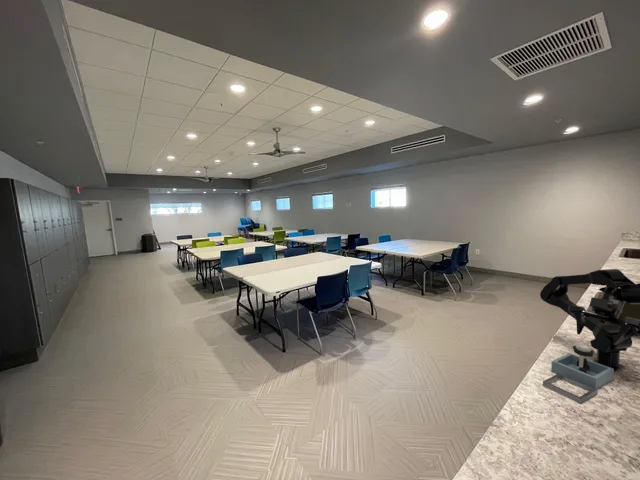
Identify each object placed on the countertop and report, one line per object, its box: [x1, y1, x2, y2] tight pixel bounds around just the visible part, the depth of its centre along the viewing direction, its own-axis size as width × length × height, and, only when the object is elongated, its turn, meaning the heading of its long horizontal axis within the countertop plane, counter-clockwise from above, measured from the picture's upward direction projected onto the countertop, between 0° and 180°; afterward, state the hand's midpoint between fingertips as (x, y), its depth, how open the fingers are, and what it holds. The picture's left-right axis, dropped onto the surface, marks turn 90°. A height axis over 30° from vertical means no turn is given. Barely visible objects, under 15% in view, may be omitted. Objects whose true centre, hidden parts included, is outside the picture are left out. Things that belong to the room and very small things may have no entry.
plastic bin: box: [550, 352, 615, 390], centre depth 94 cm, size 12×12×4 cm
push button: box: [572, 343, 595, 374], centre depth 94 cm, size 7×5×10 cm
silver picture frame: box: [542, 373, 599, 405], centre depth 87 cm, size 10×10×2 cm
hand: (595, 338), depth 93 cm, fingers open, 9 cm apart
